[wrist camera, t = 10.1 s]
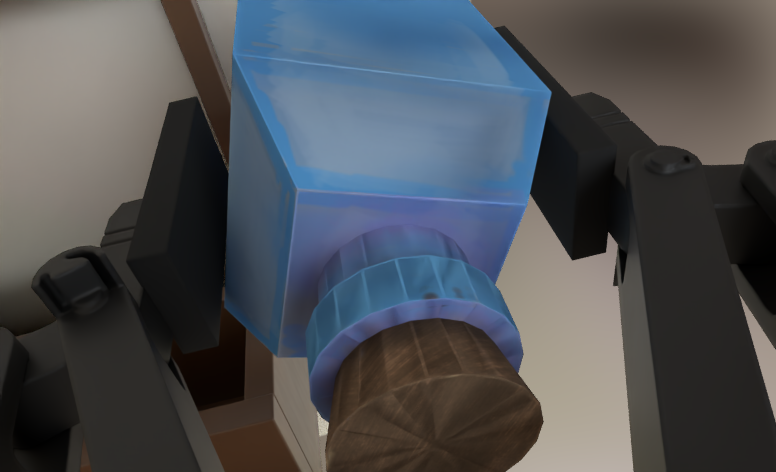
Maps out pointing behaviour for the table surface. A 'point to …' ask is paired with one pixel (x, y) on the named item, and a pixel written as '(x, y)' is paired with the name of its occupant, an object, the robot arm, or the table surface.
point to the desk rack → (239, 328)
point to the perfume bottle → (385, 222)
